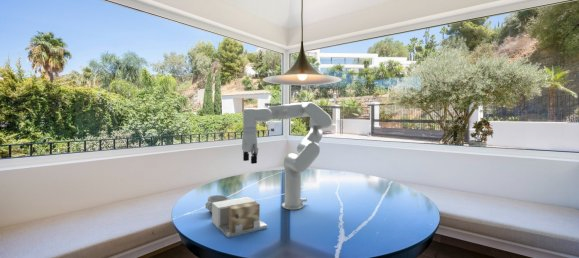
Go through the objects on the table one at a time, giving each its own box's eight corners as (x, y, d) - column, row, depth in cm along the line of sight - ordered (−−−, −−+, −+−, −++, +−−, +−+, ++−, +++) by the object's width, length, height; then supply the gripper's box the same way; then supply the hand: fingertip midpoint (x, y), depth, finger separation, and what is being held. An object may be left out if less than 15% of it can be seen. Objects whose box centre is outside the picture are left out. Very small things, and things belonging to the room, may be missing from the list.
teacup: (219, 207, 166) (219, 193, 165) (231, 211, 159) (231, 197, 158) (198, 213, 155) (198, 199, 154) (210, 218, 148) (210, 203, 148)
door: (255, 221, 141) (255, 201, 140) (260, 225, 136) (260, 204, 136) (228, 227, 133) (228, 206, 132) (233, 231, 128) (233, 210, 128)
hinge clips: (255, 220, 147) (255, 211, 146) (267, 228, 137) (267, 218, 136) (218, 228, 136) (218, 219, 135) (227, 237, 126) (227, 227, 125)
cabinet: (248, 214, 154) (248, 196, 154) (255, 220, 147) (256, 201, 146) (212, 222, 143) (212, 202, 142) (218, 228, 136) (218, 207, 135)
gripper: (237, 130, 160) (237, 160, 161) (250, 132, 145) (250, 165, 146) (249, 129, 164) (249, 159, 165) (263, 131, 149) (263, 163, 151)
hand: (249, 161), depth 156 cm, fingers open, 9 cm apart
